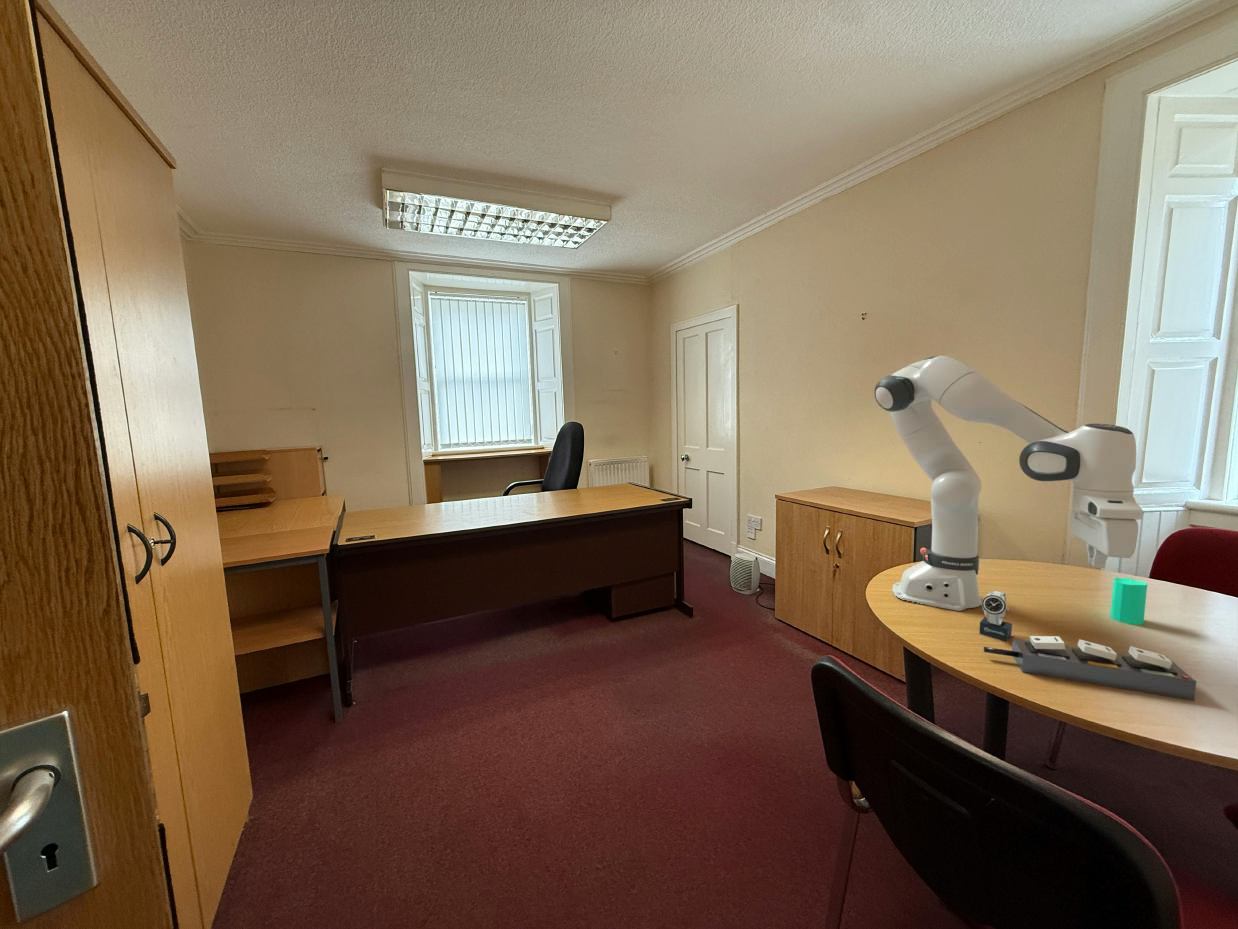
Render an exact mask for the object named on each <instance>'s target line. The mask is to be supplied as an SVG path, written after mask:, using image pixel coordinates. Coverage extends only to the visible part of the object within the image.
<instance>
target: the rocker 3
mask: <svg viewBox="0 0 1238 929" xmlns="http://www.w3.org/2000/svg"><path fill="white" fill-rule="evenodd" d="M1128 653H1129V655H1132V656H1133V657H1134V658H1135V659H1136V660H1139V661H1143V662H1147V663H1150V664H1154V665H1158V666H1161V667H1165V668H1169V669H1170V668H1171V665H1172V662H1171V661H1172V660H1171V659H1169V658H1168V657H1166V656H1165V655H1164V654H1161V653H1159V652H1155V651H1151V650H1146V649H1142V648H1138V647H1135V646H1132V645H1130V646H1129V649H1128Z"/></svg>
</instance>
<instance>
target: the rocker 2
mask: <svg viewBox="0 0 1238 929" xmlns="http://www.w3.org/2000/svg"><path fill="white" fill-rule="evenodd" d="M1077 646H1078V648H1080V649H1081V650H1082V651H1083V652H1085V653H1089V654H1093V655H1096V656H1100V657H1104V658H1107V659H1111V660H1115V659H1116V657H1117V654H1116V653H1117V652H1115V651H1114V650H1113V648H1112V647H1110V646H1106V645H1103V644H1099V643H1095V642H1093V641H1092V642H1091V641H1087V640H1083V639H1081V638H1080V639H1078V642H1077Z"/></svg>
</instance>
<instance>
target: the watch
mask: <svg viewBox="0 0 1238 929" xmlns="http://www.w3.org/2000/svg"><path fill="white" fill-rule="evenodd" d="M981 601H982V604H981V607H982V610H983V614H984V617H983V618H982V619H981V620H980V622H979V633H978V634H980V635H983V636H986V637H990V638H994V639H997V640H1001V641H1004V642H1007V641H1009V639H1010V638H1011V637H1012V634H1013V633H1012V629H1013V623H1011V622H1008V621H1007V622H1006V621H1003V620H1004V619H1005V616H1006V612H1007V611H1010V607H1009V606H1008V605H1007V595H1006V593H1005V592H1000V591H997V590H992V591H991V592H989V593H988V594H987V595H985V597H983V599H981Z"/></svg>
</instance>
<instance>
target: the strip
mask: <svg viewBox="0 0 1238 929" xmlns="http://www.w3.org/2000/svg"><path fill="white" fill-rule="evenodd" d="M1011 643H1012V646H1011V650H1007V649H1002V648H996V647H990V646H989V647H988V646H983V653H986V654H987V653H988V654H993V655H1001V656H1005V657H1013V659H1014V661H1015V662H1016V664H1017V666H1018V668H1019V669H1020V671H1021V672H1022V673H1026V674H1032V675H1038V676H1044V677H1049V678H1050V677H1051V678H1054V679H1055V678H1056V679H1062V680H1069V681H1075V682H1079V683H1085V684H1091V685H1099V686H1103V687H1109V688H1110V687H1111V688H1115V689H1121V690H1127V691H1134V692H1139V693H1145V694H1152V695H1157V696H1162V697H1163V696H1164V697H1170V698H1176V699H1181V700H1187V701H1193V702H1194V701H1195V697H1196V696H1195V695H1196V688H1197V681H1196V679H1194V678H1193V677H1192V676H1191V675H1190V674H1188V672H1186V671H1185V670H1183V668H1181V667H1180V666H1179V665H1178V664H1176V663H1175V662H1174V661H1173V660H1170V661H1171V662H1172V665H1171V668H1170V669H1169V668H1165V667H1161V666H1158V665H1154V664H1150V663H1147V662H1143V661H1139V660H1136V659H1135V658H1134V657H1133V656H1132V655H1131V654H1126V653H1118V652H1115V653H1116V654H1117V657H1116V659H1115V660H1111V659H1107V658H1104V657H1100V656H1096V655H1093V654H1089V653H1085V652H1083V651H1082V650H1081V649H1080V647H1079V646H1078V647H1077V646H1070V645H1065V649H1035V648H1034V646H1033V645H1032V643H1031V641H1030V639H1021V638H1014V637H1012V642H1011Z"/></svg>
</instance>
